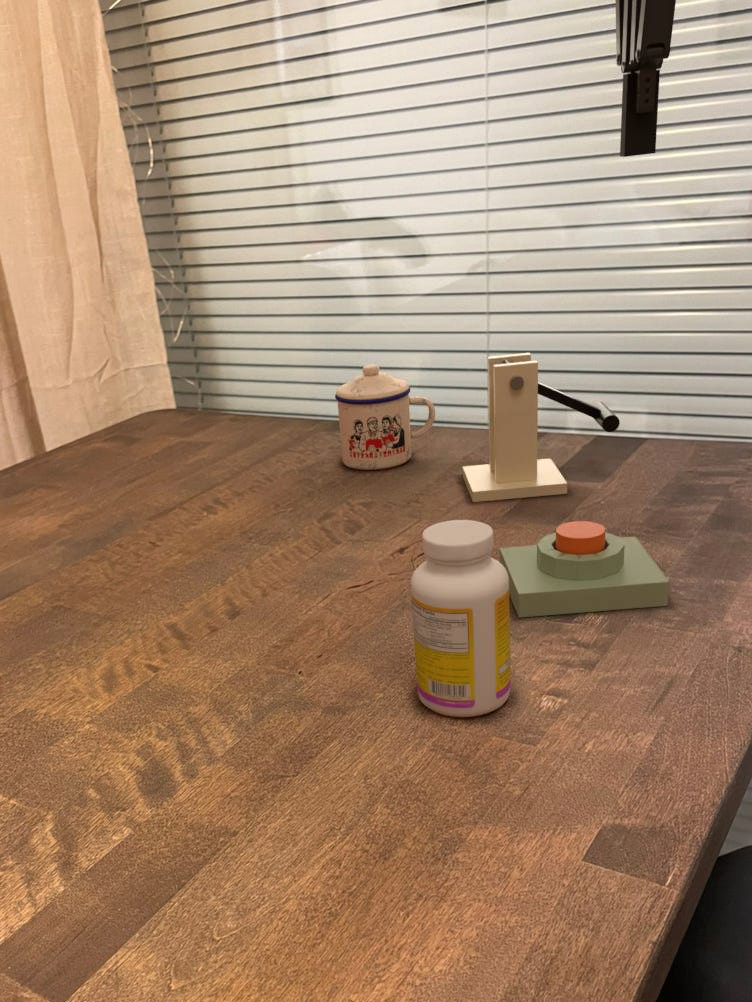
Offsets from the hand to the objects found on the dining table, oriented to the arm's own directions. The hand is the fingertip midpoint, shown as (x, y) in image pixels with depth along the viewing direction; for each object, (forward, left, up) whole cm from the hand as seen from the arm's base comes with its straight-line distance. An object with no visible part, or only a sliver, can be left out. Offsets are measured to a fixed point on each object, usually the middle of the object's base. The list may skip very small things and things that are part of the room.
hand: (637, 154), depth 90 cm
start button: (+9, +21, -29) cm, 37 cm away
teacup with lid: (+23, -21, -33) cm, 45 cm away
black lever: (+6, -7, -24) cm, 26 cm away
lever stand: (+10, -7, -32) cm, 35 cm away
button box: (+9, +21, -32) cm, 40 cm away
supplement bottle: (+21, +38, -33) cm, 54 cm away
